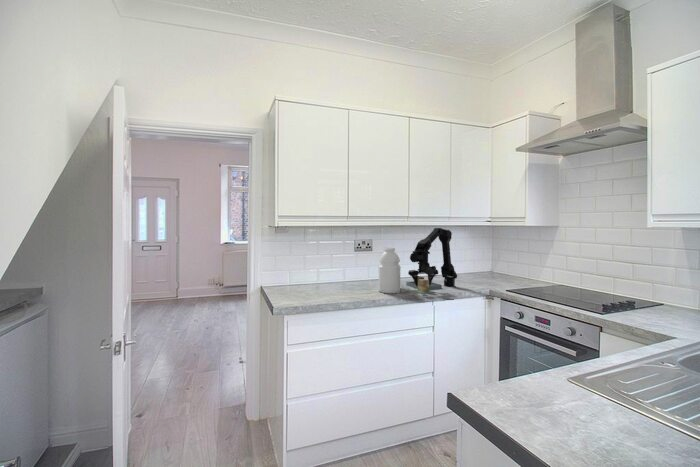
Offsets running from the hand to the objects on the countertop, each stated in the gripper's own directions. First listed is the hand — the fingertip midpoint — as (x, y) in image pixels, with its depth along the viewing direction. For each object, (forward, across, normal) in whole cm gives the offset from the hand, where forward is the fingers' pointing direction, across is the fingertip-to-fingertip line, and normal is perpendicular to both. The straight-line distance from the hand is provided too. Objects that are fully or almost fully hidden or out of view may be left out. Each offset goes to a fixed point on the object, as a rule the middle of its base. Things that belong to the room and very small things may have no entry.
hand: (423, 285), depth 212 cm
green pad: (+4, 0, 0) cm, 4 cm away
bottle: (+4, -18, +10) cm, 22 cm away
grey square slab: (+4, +10, +14) cm, 18 cm away
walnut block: (+4, +10, +20) cm, 22 cm away
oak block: (+3, 0, 0) cm, 3 cm away
